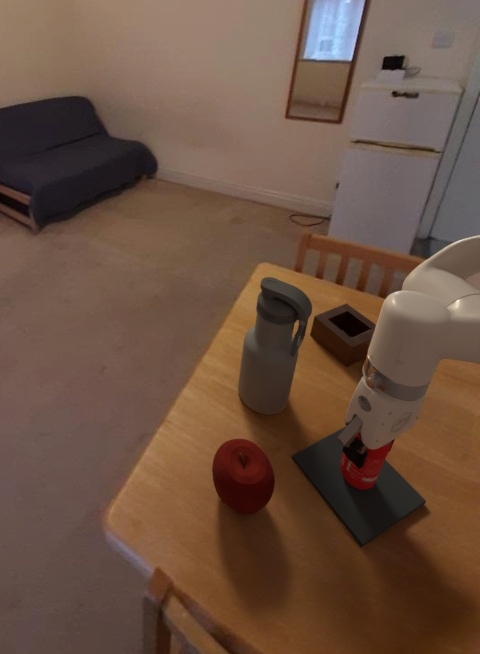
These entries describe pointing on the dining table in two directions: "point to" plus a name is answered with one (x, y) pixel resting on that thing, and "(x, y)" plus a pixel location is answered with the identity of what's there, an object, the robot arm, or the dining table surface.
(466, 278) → the robot arm
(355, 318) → the holder
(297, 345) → the water bottle
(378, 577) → the dining table surface
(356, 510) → the mat
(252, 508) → the apple
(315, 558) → the dining table surface
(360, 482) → the beverage can
